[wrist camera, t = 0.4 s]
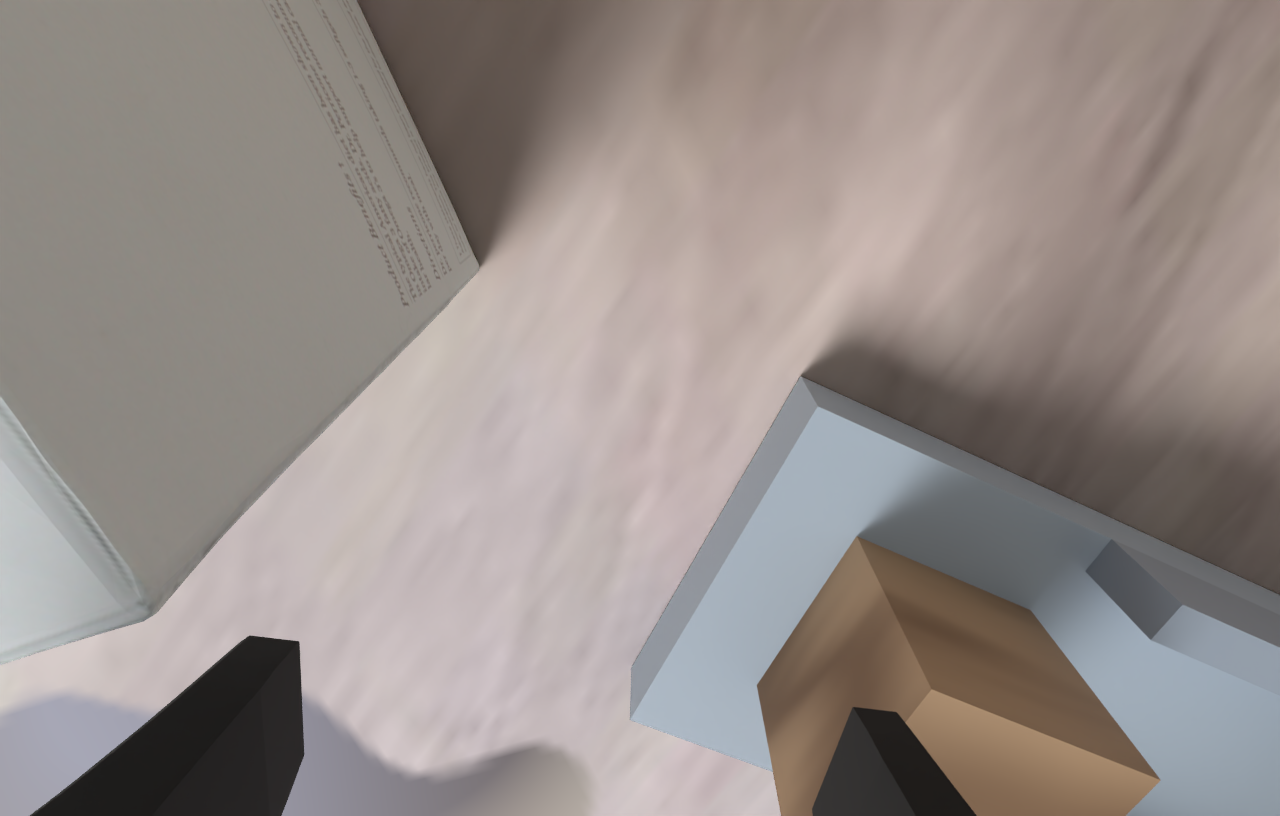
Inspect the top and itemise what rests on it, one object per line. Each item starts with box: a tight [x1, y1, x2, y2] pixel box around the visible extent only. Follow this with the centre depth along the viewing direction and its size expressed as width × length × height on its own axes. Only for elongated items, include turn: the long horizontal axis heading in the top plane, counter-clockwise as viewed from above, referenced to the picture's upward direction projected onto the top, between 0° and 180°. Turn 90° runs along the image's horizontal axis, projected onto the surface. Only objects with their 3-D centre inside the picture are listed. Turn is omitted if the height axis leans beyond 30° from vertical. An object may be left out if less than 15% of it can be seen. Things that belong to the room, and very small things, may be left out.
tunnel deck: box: [630, 376, 1280, 816], centre depth 20 cm, size 10×34×4 cm, turn 65°
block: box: [757, 536, 1161, 816], centre depth 16 cm, size 5×5×5 cm
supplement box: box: [0, 0, 479, 665], centre depth 11 cm, size 7×7×13 cm
